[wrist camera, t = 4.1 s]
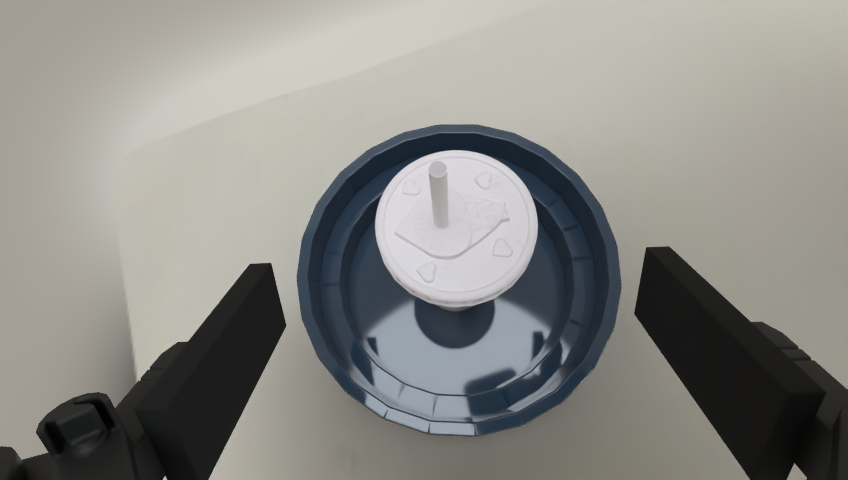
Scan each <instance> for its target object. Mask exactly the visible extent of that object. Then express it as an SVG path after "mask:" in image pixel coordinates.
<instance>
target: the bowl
mask: <svg viewBox="0 0 848 480" xmlns="http://www.w3.org/2000/svg"><path fill="white" fill-rule="evenodd" d="M451 150H463V151H471V152H476V153H480V154H483V155H486V156H489V157H491V158H493V159H495V160H497V161H499V162H501V163H502V164H504V165H505V166H507V167H508V168H509V169H511V170H512V171H513V172H514V173H515V174H516V175H517V176H518V177H519V178H520V179H521V180H522V182H523V183H524V184H525V186H526V187H527V189H528V191H529V193H530V195H531V197H532V199H533V202H534V204H535V208H536V212H537V219H538V232H537V239H536V244H535V247H534V252H533V255H532V257H531V259H530V261H529V264H528V266H527V268H526V270H525V272H524V273H523V274H522V275H521V276H520V278H519V279H518V280H517V281H516V282H515V284H514V285H513V286H512V287H511V288H509V289H508V290H506V291H505V292H503V293H502V294H500V295H499V296H497V297H496V298H495V299H492V300H489V301H486V302H483V303H480V304H477V305H474V306H472V307H470V308H468V309H466V310H463V311H447V310H444V309H442V308H440V307H438V306H436V305H435V304H431V303H428V302H426V301H424V300H422V299H420V298H418V297H416V296H414V295H412V294H410V293H409V292H408V291H407V290H406V289H404V288H403V287H402V286H401V285H400V284H399V283H398V282H397V281H395V280H394V278H393V277H392V275H391V273H390V272H389V270H388V269H387V267H386V266H385V264H384V262H383V259H382V256H381V253H380V250H379V247H378V244H377V239H376V232H375V220H376V213H377V208H378V205H379V202H380V199H381V197H382V194H383V193H384V191H385V189H386V187H387V186H388V184H389V183H390V182H391V180H392V179H393V178H394V177H395V176H396V175H397V174H398V173H399V172H400V171H401V170H402V169H404V168H405V167H406V166H408V165H409V164H411V163H412V162H414V161H416V160H418V159H420V158H422V157H424V156H427V155H430V154H433V153H437V152H442V151H451ZM297 286H298V294H299V302H300V310H301V317H302V321H303V323H304V325H305V328H306V330H307V333H308V335H309V337H310V340H311V342H312V344H313V347H314V349H315V352H316V354H317V356H318V357H319V360H320V361H321V362H322V363H323V365H324V366H325V367H326V368H327V370H328V371H329V372H330V373H331V375H332V376H333V377H334V378H335V380H336V381H337V382H338V383H339V385H340V386H341V387H342V388H343V390H344V391H345V392H347V394H349V395H350V396H352V397H353V398H354V399H356V400H357V401H359V402H360V403H361V404H363V405H364V406H366V407H367V408H368V409H370V410H371V411H373V412H374V413H376V414H377V415H378V416H380V417H381V418H384V419H385V420H388V421H390V422H393V423H396V424H399V425H402V426H405V427H408V428H411V429H413V430H416V431H419V432H422V433H425V434H430V435H447V436H467V437H475V436H477V437H478V436H482V435H486V434H490V433H495V432H499V431H503V430H507V429H511V428H515V427H519V426H522V425H525V424H526V423H528V422H530V421H532V420H533V419H535V418H537V417H538V416H540V415H542V414H544V413H545V412H547V411H549V410H550V409H552V408H554V407H556V406H557V405H559V404H561V403H562V401H565V400H566V399H567V398H568V396H569V395H570V394H571V393H572V392H573V391H574V390H575V389H576V388H577V387H578V386H579V385H580V384H581V383H582V381H583V380H584V379H585V378H586V377H587V376H588V375H589V374H590V373H591V372H592V371H593V370H594V368H595V367H596V365H597V363H598V361H599V359H600V357H601V355H602V353H603V351H604V349H605V346H606V344H607V342H608V340H609V338H610V336H611V334H612V332H613V330H614V329H613V328H614V327H615V322H616V316H617V310H618V304H619V299H620V293H621V276H620V267H619V258H618V249H617V245H616V241H615V238H614V236H613V233H612V231H611V228H610V226H609V223H608V221H607V218H606V216H605V213H604V211H603V208H602V207H601V205H600V203H599V202H598V201H597V199H596V198H595V197H594V195H593V194H592V193H591V191H590V190H589V188H588V187H587V186H586V184H585V183H584V182H583V180H582V179H581V178H580V176H579V175H578V174H577V173H576V172H574V171H573V170H572V169H571V168H570V167H568V166H567V165H566V164H565V163H564V162H562V161H561V160H560V159H559V158H557V157H556V156H555V155H554V154H553V153H551V152H550V151H549V150H548V149H546V148H544V147H542V146H540V145H538V144H536V143H533V142H531V141H529V140H527V139H525V138H523V137H521V136H519V135H517V134H515V133H512V132H507V131H503V130H498V129H494V128H490V127H485V126H481V125H435V126H430V127H426V128H421V129H417V130H413V131H408V132H404V133H403V134H402V133H401V134H399V135H397V136H395V137H393V138H391V139H389V140H387V141H385V142H383V143H381V144H379V145H377V146H374V147H372V148H370V149H369V150H367V151H366V152H365V153H364V154H362V155H361V156H360V157H359V158H357V159H356V160H355V161H354V162H353V163H351V164H350V165H349V166H348V167H346V168H345V169H344V170H343V171H341V172H340V174H339V175H338V176H337V177H336V179H335V180H334V181H333V183H332V184H331V185H330V187H329V188H328V189H327V191H326V192H325V193H324V195H323V196H322V197H321V198H320V200H319V201H318V204H316V206H315V209H314V211H313V214H312V216H311V218H310V221H309V223H308V226H307V228H306V230H305V233H304V235H303V237H302V243H301V250H300V257H299V264H298V271H297Z"/></svg>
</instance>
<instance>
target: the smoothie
mask: <svg viewBox="0 0 848 480" xmlns="http://www.w3.org/2000/svg"><path fill="white" fill-rule="evenodd" d="M375 232H376V239H377V244H378V247H379V250H380V253H381V256H382V259H383V262H384V264H385V266H386V267H387V269H388V270H389V272H390V273H391V275H392V277H393V278H394V280H395V281H397V282H398V283H399V284H400V285H401V286H402V287H403V288H404V289H406V290H407V291H408V292H409V293H410V294H412V295H414V296H416V297H418V298H420V299H422V300H424V301H426V302H428V303H431V304H435V305H436V306H438V307H440V308H442V309H444V310H447V311H463V310H466V309H468V308H470V307H472V306H474V305H477V304H480V303H483V302H486V301H489V300H492V299H495V298H496V297H497V296H499V295H500V294H502V293H503V292H505V291H506V290H508V289H509V288H511V287H512V286H513V285H514V284H515V282H516V281H517V280H518V279H519V278H520V276H521V275H522V274H523V273H524V272H525V270H526V268H527V266H528V264H529V261H530V259H531V257H532V255H533V252H534V247H535V244H536V239H537V232H538V219H537V212H536V208H535V204H534V202H533V199H532V197H531V195H530V193H529V191H528V189H527V187H526V186H525V184H524V183H523V182H522V180H521V179H520V178H519V177H518V176H517V175H516V174H515V173H514V172H513V171H512V170H511V169H509V168H508V167H507V166H505V165H504V164H502V163H501V162H499V161H497V160H495V159H493V158H491V157H489V156H486V155H483V154H480V153H476V152H471V151H463V150H451V151H442V152H437V153H433V154H430V155H427V156H424V157H422V158H420V159H418V160H416V161H414V162H412V163H411V164H409V165H408V166H406V167H405V168H404V169H402V170H401V171H400V172H399V173H398V174H397V175H396V176H395V177H394V178H393V179H392V180H391V182H390V183H389V184H388V186H387V187H386V189H385V191H384V193H383V194H382V197H381V199H380V202H379V205H378V208H377V213H376V220H375Z"/></svg>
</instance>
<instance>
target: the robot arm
mask: <svg viewBox="0 0 848 480" xmlns="http://www.w3.org/2000/svg"><path fill="white" fill-rule="evenodd" d="M634 314H635V316H636V317H637V319H638V320H639V321H640V323H641V324H642V326H643V327H644V328H645V330H646V331H647V333H648V334H649V336H650V337H651V338H652V340H653V341H654V343H655V344H656V346H657V347H658V348H659V350H660V351H661V353H662V354H663V356H664V357H665V358H666V360H667V361H668V363H669V364H670V366H671V367H672V368H673V370H674V371H675V373H676V374H677V376H678V377H679V378H680V380H681V381H682V383H683V384H684V386H685V387H686V388H687V390H688V391H689V393H690V394H691V396H692V397H693V398H694V400H695V401H696V403H697V404H698V406H699V407H700V408H701V410H702V411H703V413H704V414H705V416H706V417H707V418H708V420H709V421H710V423H711V424H712V426H713V427H714V428H715V430H716V431H717V433H718V434H719V436H720V437H721V438H722V440H723V441H724V443H725V444H726V445H727V447H728V448H729V450H730V451H731V453H732V454H733V455H734V457H735V458H736V460H737V461H738V463H739V464H740V465H741V467H742V468H743V470H744V471H745V473H746V474H747V475H748V477H749V478H750V480H787V478H788V475H789V473H790V471H791V469H792V467H793V465H794V463H795V464H796V465H797V466H798V468H799V469H800V470H801V471H802V472H803V474H804V475H805V476H806V477H807V480H848V390H847V389H846V388H845V387H844V386H843V385H842V384H840V383H839V382H838V381H837V380H836V379H835V378H834V377H832V376H831V375H830V374H829V373H828V372H827V371H826V370H824V369H823V368H822V367H821V366H820V365H819V364H818V363H816V362H815V361H812V360H811V357H809V356H808V355H807V354H806V353H805V352H804V351H803V350H801V349H798V346H797V345H796V344H795V343H793V342H792V341H791V340H790V339H789V338H788V337H787V336H785V335H784V334H783V333H782V332H780V331H778V330H776V329H774V328H772V327H770V326H769V325H767V324H765V323H763V322H750V321H749V320H748V319H747V318H746V317H745V316H744V315H743V314H742V313H741V312H739V311H738V310H737V309H736V308H735V307H734V306H733V305H732V304H731V303H730V302H729V301H728V300H726V299H725V298H724V297H723V296H722V295H721V294H720V293H719V292H718V291H717V290H716V289H715V288H713V287H712V286H711V285H710V284H709V283H708V282H707V281H706V280H705V279H704V278H703V277H702V276H701V275H699V274H698V273H697V272H696V271H695V270H694V269H693V268H692V267H691V266H690V265H689V264H688V263H686V262H685V261H684V260H683V259H682V258H681V257H680V256H679V255H678V254H677V253H676V252H675V251H673V250H672V249H671V248H670V247H646V252H645V257H644V263H643V268H642V274H641V279H640V285H639V290H638V296H637V301H636V307H635V312H634ZM285 327H286V323H285V319H284V314H283V310H282V306H281V302H280V298H279V294H278V290H277V286H276V281H275V277H274V273H273V269H272V265H271V263H260V264H250V265H249V266H248V267H247V268H246V270H245V271H244V272H243V273H242V275H241V276H240V277H239V278H238V280H237V281H236V282H235V283H234V285H233V286H232V287H231V288H230V290H229V291H228V292H227V293H226V295H225V296H224V297H223V299H222V300H221V301H220V302H219V304H218V305H217V306H216V307H215V309H214V310H213V311H212V312H211V314H210V315H209V316H208V317H207V319H206V320H205V321H204V322H203V324H202V325H201V326H200V327H199V329H198V330H197V331H196V332H195V334H194V335H193V336H192V337H191V339H190V340H189V341H188V342H178V343H176V344H175V345H173V346H172V347H170V348H169V349H168V350H166V351H165V352H163V353H162V354H161V355H160V356H159V357H158V359H157V360H156V361H155V362H154V363H153V364H152V366H151V367H150V370H147V372H146V373H145V374H144V375H143V376H142V377H141V381H138V382H137V383H136V384H135V386H134V387H133V388H132V389H131V390H130V392H129V393H128V394H127V395H126V396H125V397H124V399H123V400H122V401H121V402H120V403H119V404H118V406H117V407H116V408H114V406H113V404H112V402H111V400H110V399H109V397H108V396H107V394H103V393H99V392H97V393H87V394H84V395H81V396H78V397H75V398H72V399H70V400H68V401H67V402H64V403H62V404H60V405H59V406H58V407H56V408H55V409H53V410H52V411H51V412H49V413H48V414H47V415H46V416H45V417H44V418H43V420H42V421H41V422H40V423H39V425H38V428H37V431H36V433H37V435H38V436H39V438H40V439H41V441H42V443H43V444H44V446H45V447H46V449H47V451H48V452H49V453H45V454H42V455H38V456H34V457H31V458H27V459H23V460H21V459H20V457H19V456H18V454H17V453H16V451H15V450H14V449H13V448H12V447H3V446H2V447H0V480H163V478H164V476H166V478H167V480H208V479H209V477H210V475H211V473H212V471H213V469H214V467H215V465H216V463H217V461H218V459H219V457H220V455H221V453H222V451H223V449H224V447H225V446H226V444H227V442H228V440H229V438H230V436H231V434H232V432H233V430H234V428H235V426H236V424H237V422H238V420H239V418H240V416H241V414H242V412H243V410H244V408H245V406H246V404H247V402H248V400H249V398H250V396H251V394H252V392H253V390H254V388H255V386H256V384H257V382H258V380H259V379H260V377H261V375H262V373H263V371H264V369H265V367H266V365H267V363H268V361H269V359H270V357H271V355H272V353H273V351H274V349H275V347H276V345H277V343H278V341H279V339H280V337H281V335H282V333H283V331H284V329H285Z"/></svg>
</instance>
